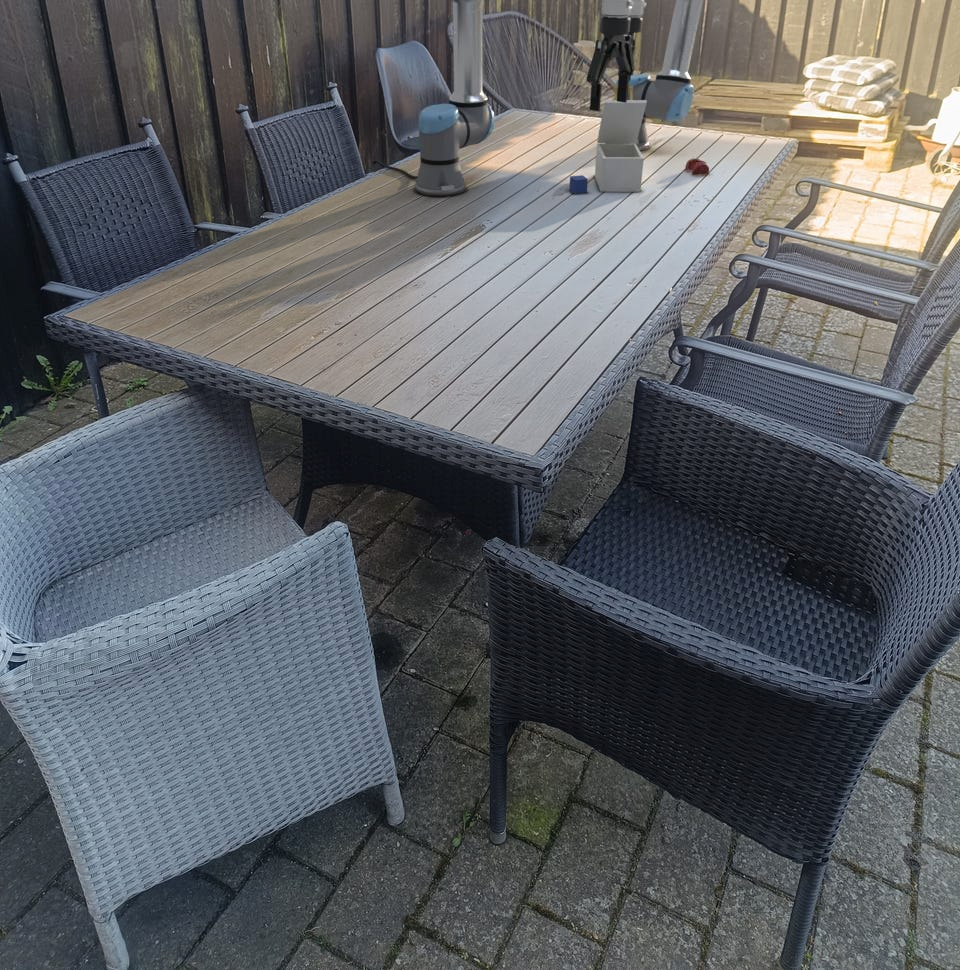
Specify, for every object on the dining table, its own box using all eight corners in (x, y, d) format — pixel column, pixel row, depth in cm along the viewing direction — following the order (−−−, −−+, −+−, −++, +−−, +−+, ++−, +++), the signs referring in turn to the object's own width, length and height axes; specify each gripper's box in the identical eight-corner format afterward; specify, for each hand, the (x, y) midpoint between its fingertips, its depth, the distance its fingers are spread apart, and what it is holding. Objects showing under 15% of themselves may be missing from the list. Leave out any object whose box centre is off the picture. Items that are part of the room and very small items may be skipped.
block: (586, 193, 256) (587, 178, 253) (574, 194, 255) (574, 180, 253) (581, 189, 259) (582, 175, 257) (569, 190, 258) (570, 176, 256)
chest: (640, 191, 257) (643, 158, 251) (600, 191, 257) (602, 158, 251) (632, 175, 271) (635, 143, 265) (594, 175, 271) (597, 143, 265)
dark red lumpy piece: (700, 154, 275) (711, 161, 268) (699, 168, 277) (710, 175, 271) (684, 156, 274) (695, 163, 267) (683, 169, 276) (694, 176, 270)
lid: (646, 102, 247) (645, 78, 249) (605, 102, 247) (604, 78, 250) (636, 143, 265) (634, 120, 267) (597, 143, 265) (596, 120, 267)
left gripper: (602, 22, 204) (595, 116, 216) (653, 12, 219) (644, 100, 232) (576, 19, 207) (570, 112, 220) (628, 10, 223) (620, 96, 236)
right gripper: (646, 19, 236) (637, 109, 249) (639, 13, 247) (630, 99, 261) (619, 19, 236) (612, 109, 249) (613, 13, 247) (606, 99, 261)
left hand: (608, 106), depth 226 cm, fingers open, 13 cm apart
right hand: (621, 104), depth 255 cm, fingers closed on lid, 1 cm apart
